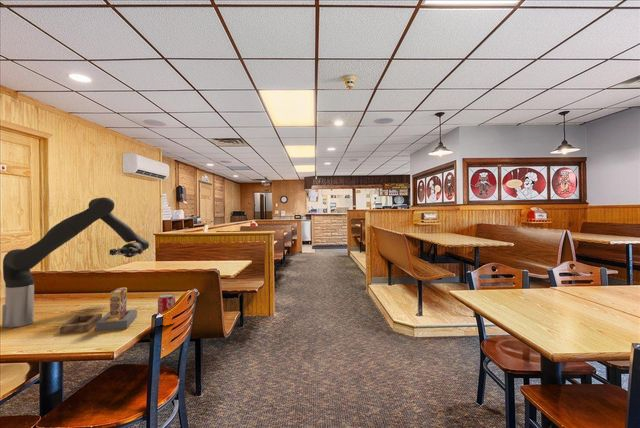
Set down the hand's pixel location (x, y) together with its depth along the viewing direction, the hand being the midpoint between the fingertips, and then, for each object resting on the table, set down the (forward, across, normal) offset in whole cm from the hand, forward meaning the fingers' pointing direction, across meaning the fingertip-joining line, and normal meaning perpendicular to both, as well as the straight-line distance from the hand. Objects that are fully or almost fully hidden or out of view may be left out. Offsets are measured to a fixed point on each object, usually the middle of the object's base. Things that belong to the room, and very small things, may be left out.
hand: (122, 253), depth 155 cm
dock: (+17, +3, +30) cm, 35 cm away
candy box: (+17, +3, +30) cm, 35 cm away
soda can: (+24, +24, +30) cm, 45 cm away
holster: (+17, -10, +30) cm, 36 cm away
